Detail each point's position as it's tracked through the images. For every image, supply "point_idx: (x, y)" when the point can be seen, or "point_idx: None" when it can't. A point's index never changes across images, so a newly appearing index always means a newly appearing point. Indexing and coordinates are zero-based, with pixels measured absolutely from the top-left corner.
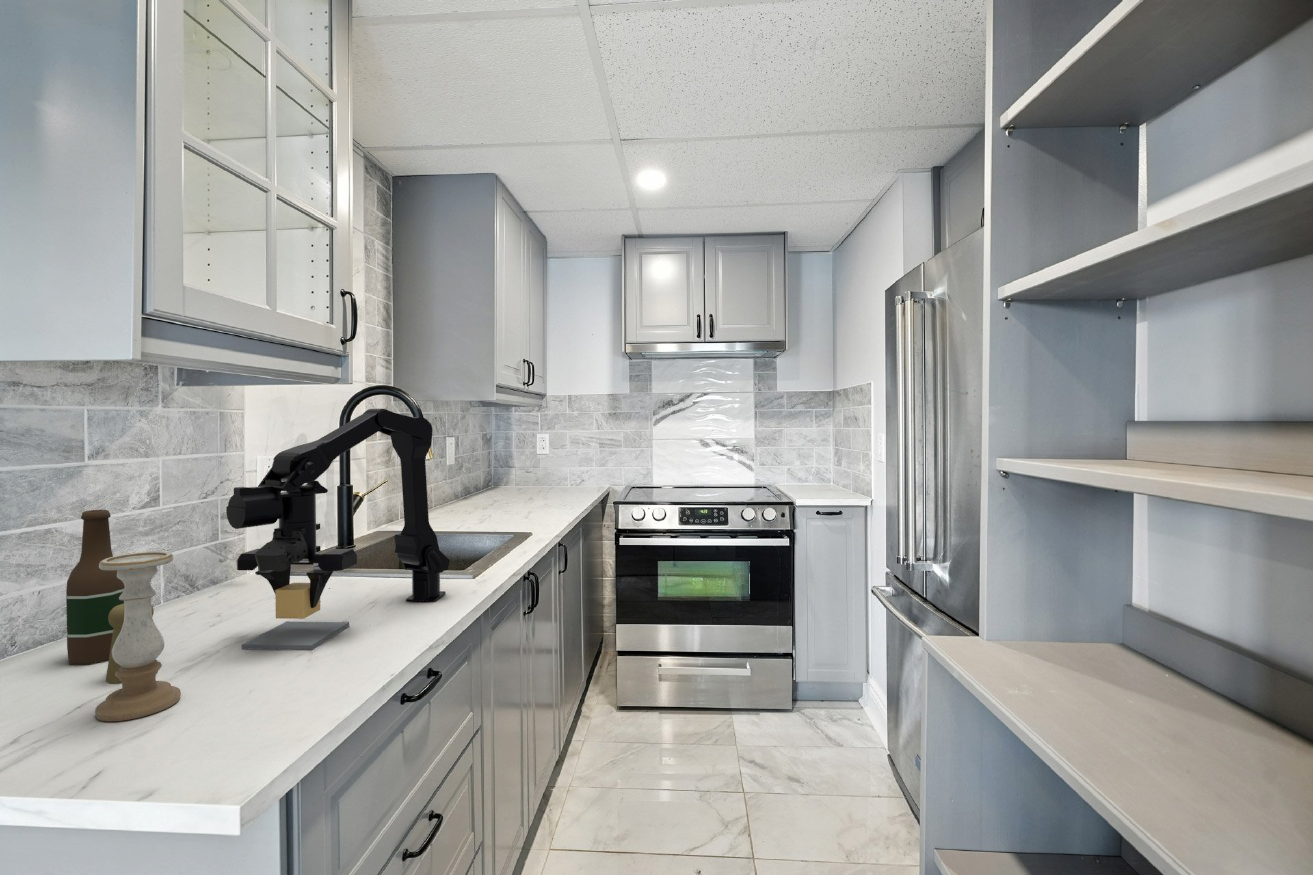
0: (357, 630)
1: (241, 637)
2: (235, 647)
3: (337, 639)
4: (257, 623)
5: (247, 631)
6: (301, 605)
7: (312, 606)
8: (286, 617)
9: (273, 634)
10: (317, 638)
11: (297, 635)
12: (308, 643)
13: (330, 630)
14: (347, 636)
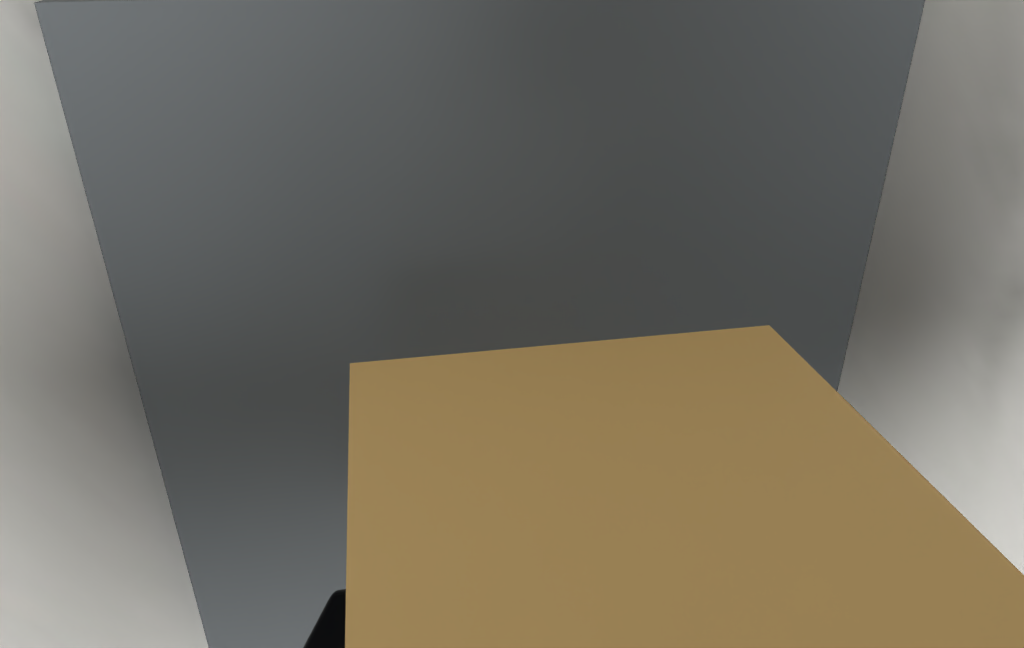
0: (48, 575)
1: (1018, 287)
2: (975, 29)
3: (39, 345)
4: (1009, 560)
5: (1020, 414)
6: (396, 494)
7: (329, 599)
8: (622, 346)
9: (740, 299)
10: (165, 241)
11: (475, 304)
12: (137, 64)
13: (219, 471)
14: (3, 432)
